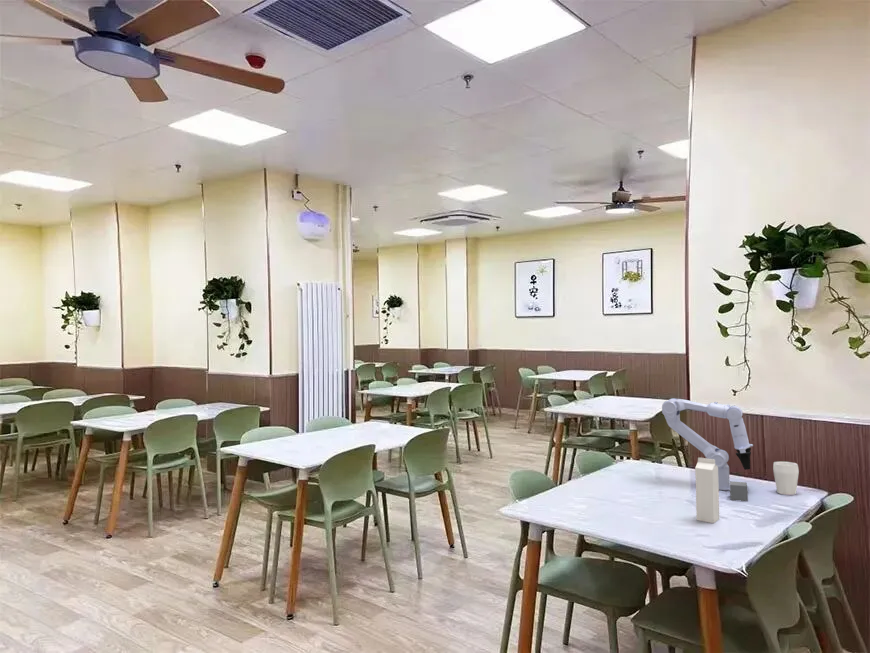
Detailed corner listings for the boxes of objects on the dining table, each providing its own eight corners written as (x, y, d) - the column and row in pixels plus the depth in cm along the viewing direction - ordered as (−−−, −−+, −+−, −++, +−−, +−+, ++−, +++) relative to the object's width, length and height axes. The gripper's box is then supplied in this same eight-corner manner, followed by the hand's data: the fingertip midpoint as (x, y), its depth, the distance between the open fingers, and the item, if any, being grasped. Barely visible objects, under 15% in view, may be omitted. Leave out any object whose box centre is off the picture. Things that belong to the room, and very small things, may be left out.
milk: (702, 516, 221) (700, 455, 221) (719, 519, 217) (718, 458, 217) (696, 520, 217) (694, 458, 217) (714, 523, 212) (712, 460, 213)
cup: (792, 490, 252) (791, 461, 252) (803, 496, 243) (802, 466, 243) (769, 490, 253) (769, 461, 253) (780, 496, 244) (779, 466, 244)
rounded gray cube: (730, 500, 240) (730, 484, 240) (730, 496, 245) (729, 481, 245) (747, 501, 237) (747, 486, 237) (746, 497, 243) (746, 482, 243)
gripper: (750, 436, 245) (758, 469, 244) (750, 431, 258) (757, 463, 256) (731, 438, 248) (739, 471, 247) (732, 433, 261) (739, 464, 260)
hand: (747, 467), depth 252 cm, fingers open, 7 cm apart
